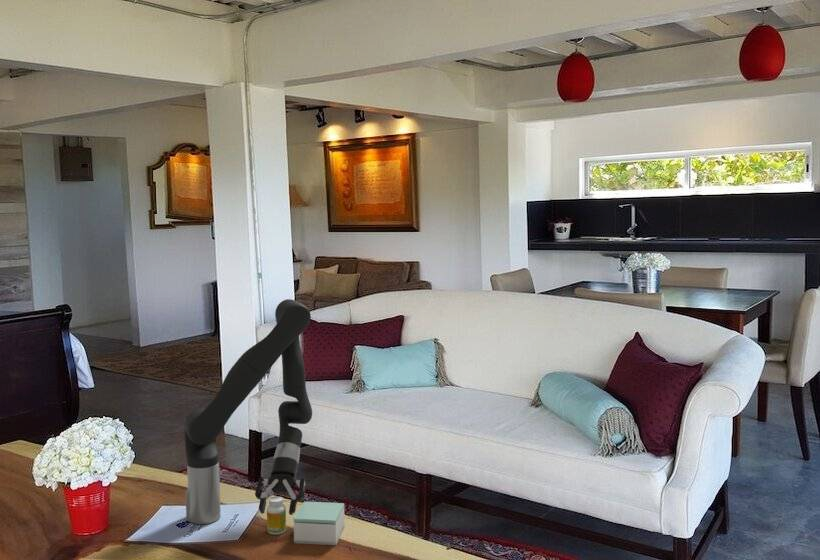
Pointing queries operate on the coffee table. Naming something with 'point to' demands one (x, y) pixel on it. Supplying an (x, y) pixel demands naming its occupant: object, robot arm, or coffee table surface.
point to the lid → (319, 512)
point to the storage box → (318, 532)
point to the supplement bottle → (276, 516)
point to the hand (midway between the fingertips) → (276, 513)
